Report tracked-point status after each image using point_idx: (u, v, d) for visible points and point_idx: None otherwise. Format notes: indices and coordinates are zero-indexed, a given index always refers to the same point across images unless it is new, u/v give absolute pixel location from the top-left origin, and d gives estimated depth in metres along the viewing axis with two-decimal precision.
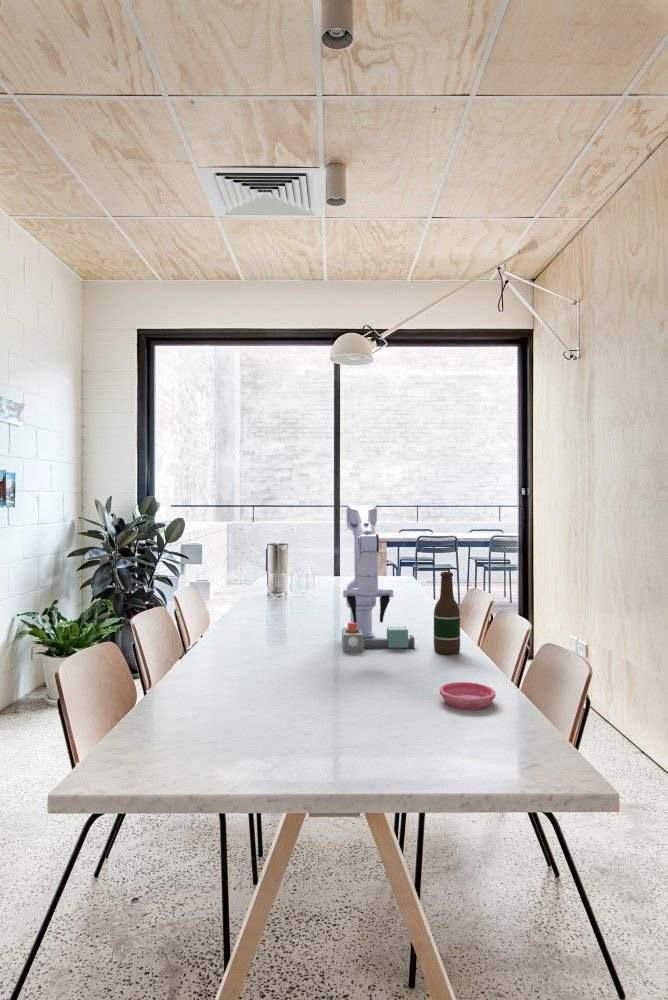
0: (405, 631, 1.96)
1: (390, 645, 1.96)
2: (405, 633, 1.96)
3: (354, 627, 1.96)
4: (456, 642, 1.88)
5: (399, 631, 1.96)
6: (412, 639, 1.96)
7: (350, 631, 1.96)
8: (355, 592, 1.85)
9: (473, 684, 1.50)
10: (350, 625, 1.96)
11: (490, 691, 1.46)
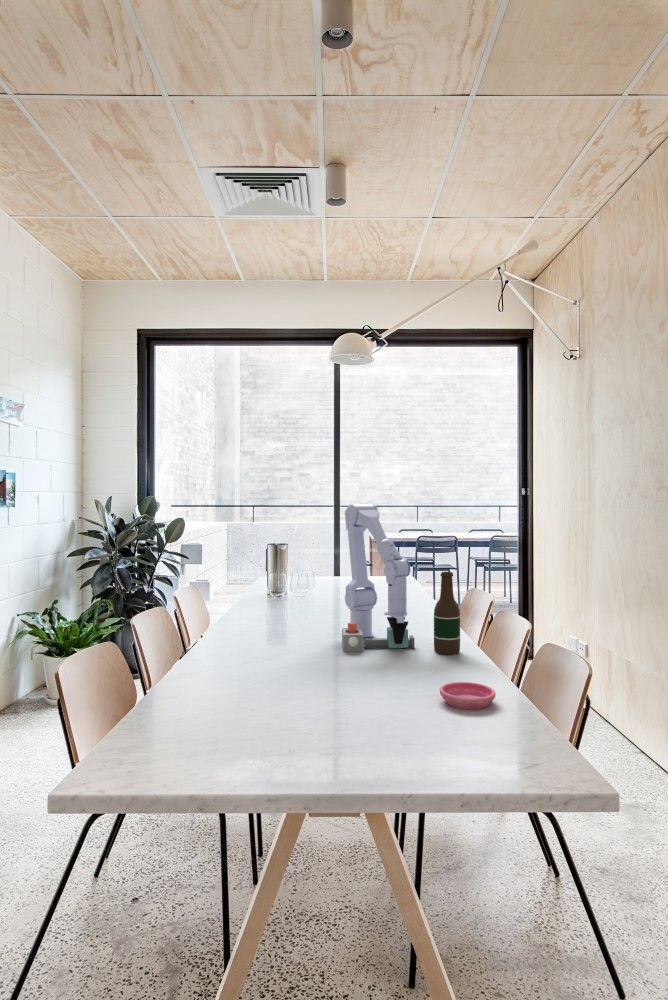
0: (405, 631, 1.96)
1: (390, 645, 1.96)
2: (405, 633, 1.96)
3: (354, 627, 1.96)
4: (456, 642, 1.88)
5: None
6: (412, 639, 1.96)
7: (350, 631, 1.96)
8: None
9: (473, 684, 1.50)
10: (350, 625, 1.96)
11: (490, 691, 1.46)
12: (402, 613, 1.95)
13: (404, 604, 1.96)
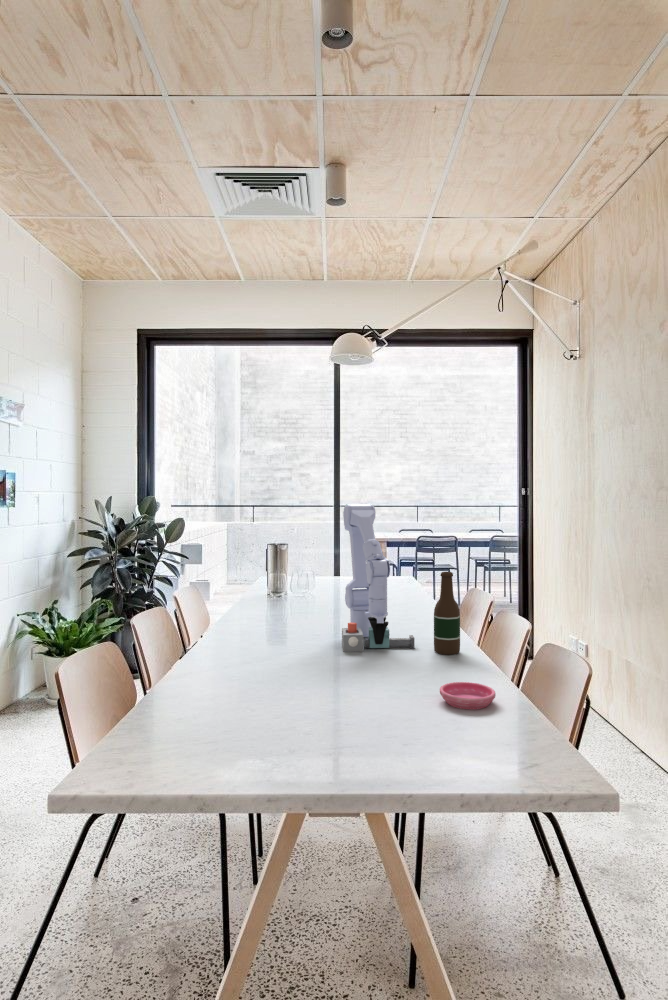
0: (386, 631, 1.96)
1: (371, 645, 1.95)
2: (387, 634, 1.96)
3: (354, 627, 1.96)
4: (456, 642, 1.88)
5: None
6: (412, 639, 1.96)
7: (350, 631, 1.96)
8: None
9: (473, 684, 1.50)
10: (350, 625, 1.96)
11: (490, 691, 1.46)
12: (382, 613, 1.95)
13: (384, 604, 1.96)
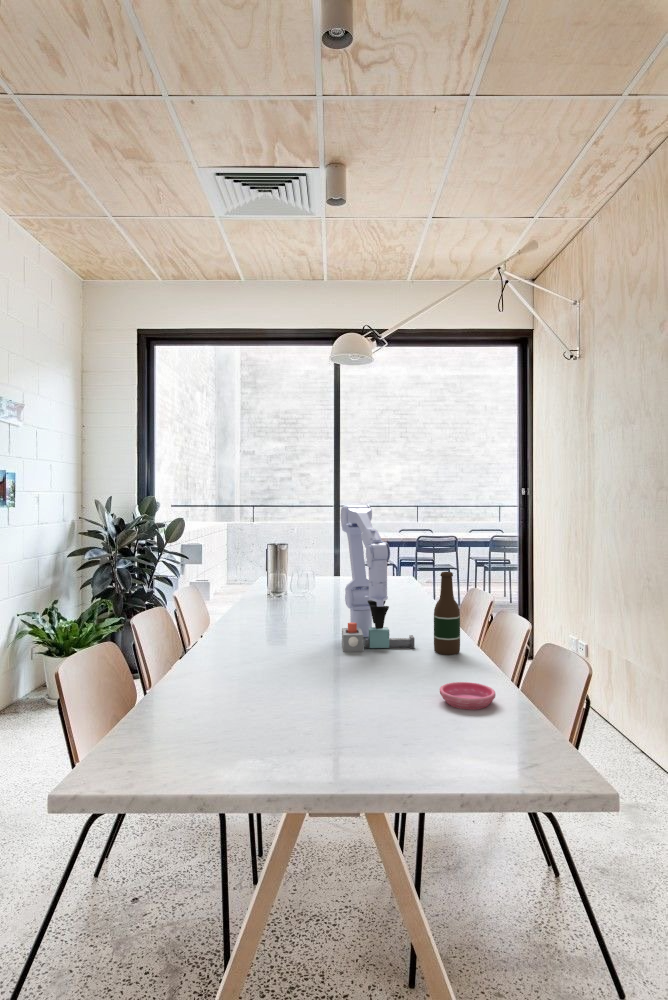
0: (386, 631, 1.96)
1: (371, 645, 1.95)
2: (386, 634, 1.96)
3: (354, 627, 1.96)
4: (456, 642, 1.88)
5: (380, 631, 1.96)
6: (412, 639, 1.96)
7: (350, 631, 1.96)
8: None
9: (473, 684, 1.50)
10: (350, 625, 1.96)
11: (490, 691, 1.46)
12: (382, 597, 1.95)
13: (384, 588, 1.96)
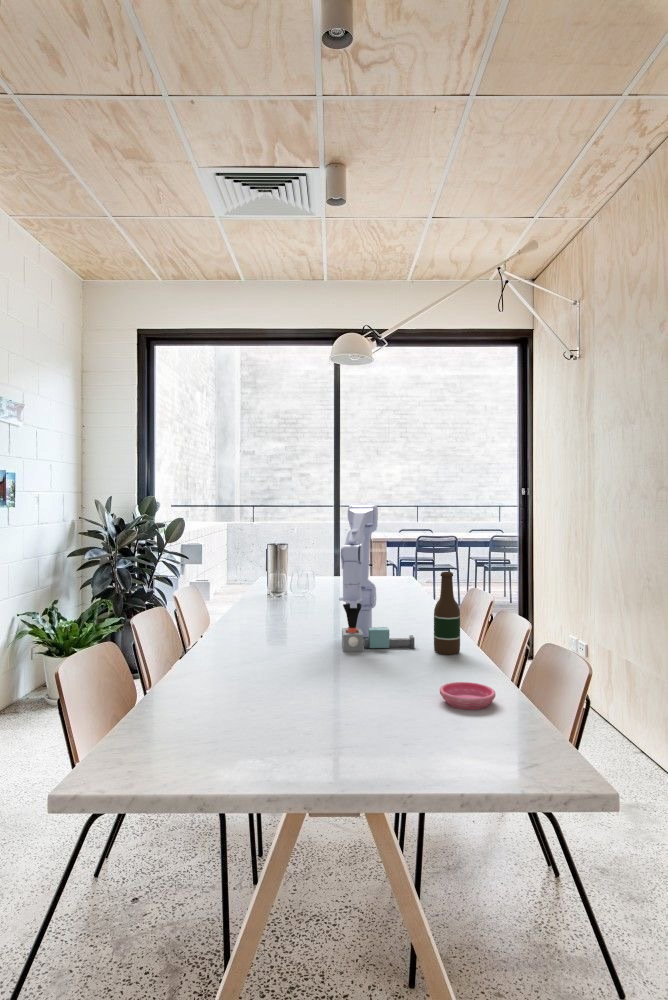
0: (386, 631, 1.96)
1: (371, 645, 1.95)
2: (386, 634, 1.96)
3: (354, 631, 1.96)
4: (456, 642, 1.88)
5: (380, 631, 1.96)
6: (412, 639, 1.96)
7: None
8: None
9: (473, 684, 1.50)
10: (350, 629, 1.96)
11: (490, 691, 1.46)
12: (356, 598, 1.95)
13: (358, 589, 1.95)
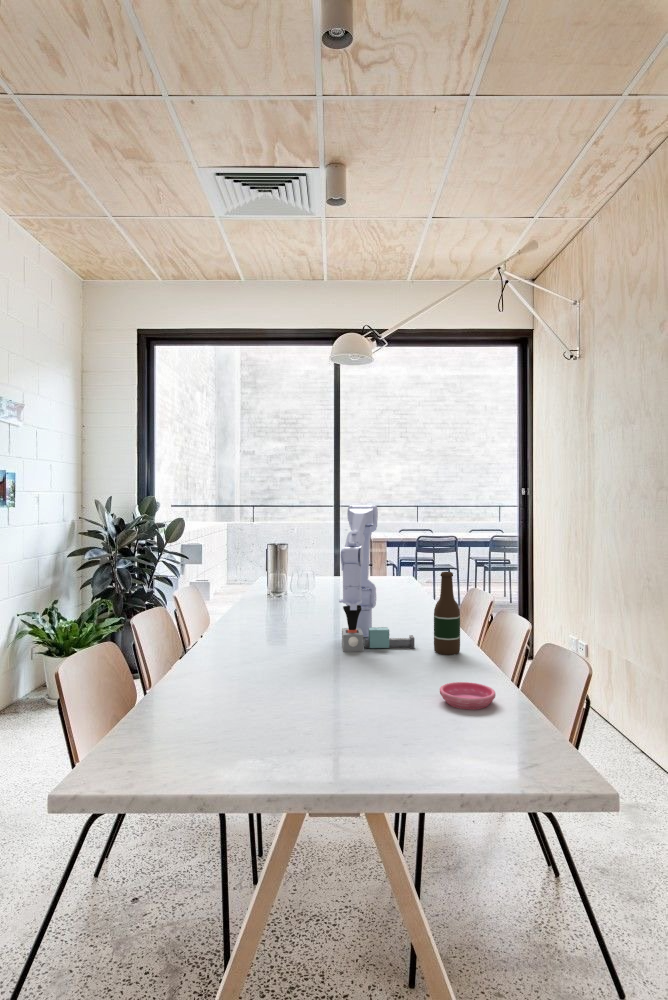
0: (386, 631, 1.96)
1: (371, 645, 1.95)
2: (386, 634, 1.96)
3: None
4: (456, 642, 1.88)
5: (380, 631, 1.96)
6: (412, 639, 1.96)
7: None
8: None
9: (473, 684, 1.50)
10: (350, 631, 1.96)
11: (490, 691, 1.46)
12: (356, 600, 1.95)
13: (358, 592, 1.95)
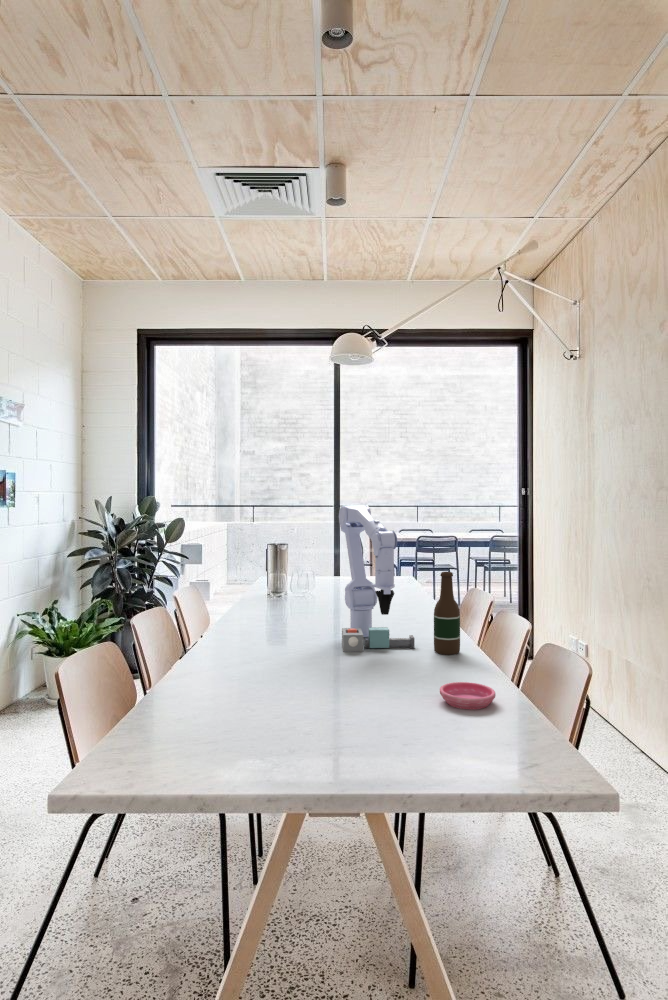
0: (386, 631, 1.96)
1: (371, 645, 1.95)
2: (386, 634, 1.96)
3: None
4: (456, 642, 1.88)
5: (380, 631, 1.96)
6: (412, 639, 1.96)
7: None
8: None
9: (473, 684, 1.50)
10: (350, 631, 1.96)
11: (490, 691, 1.46)
12: (389, 585, 1.94)
13: (391, 576, 1.95)
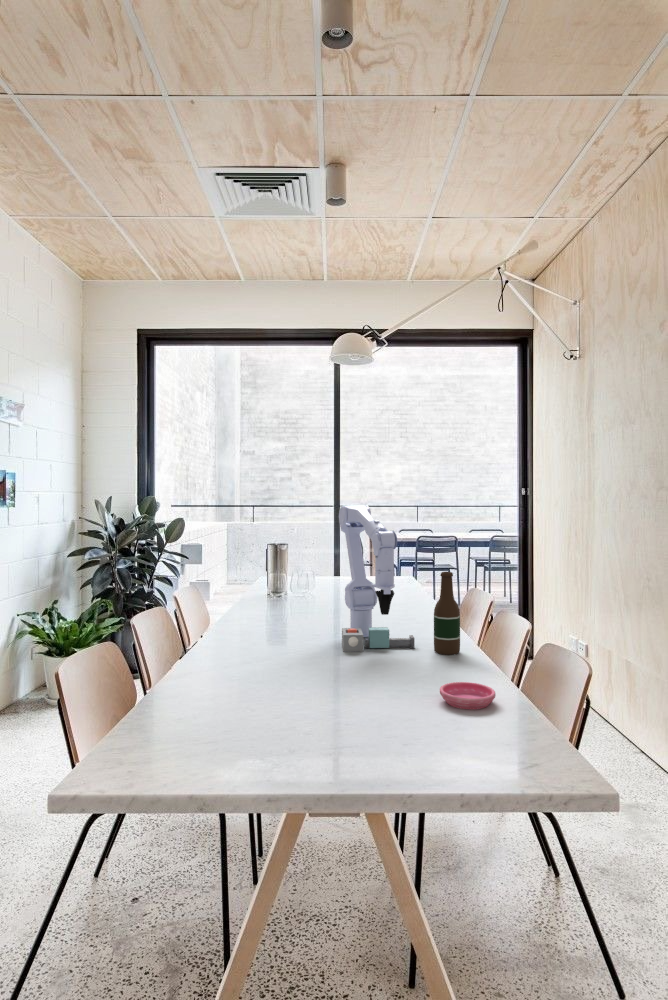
0: (386, 631, 1.96)
1: (371, 645, 1.95)
2: (386, 634, 1.96)
3: None
4: (456, 642, 1.88)
5: (380, 631, 1.96)
6: (412, 639, 1.96)
7: None
8: None
9: (473, 684, 1.50)
10: (350, 631, 1.96)
11: (490, 691, 1.46)
12: (389, 585, 1.94)
13: (391, 576, 1.95)
